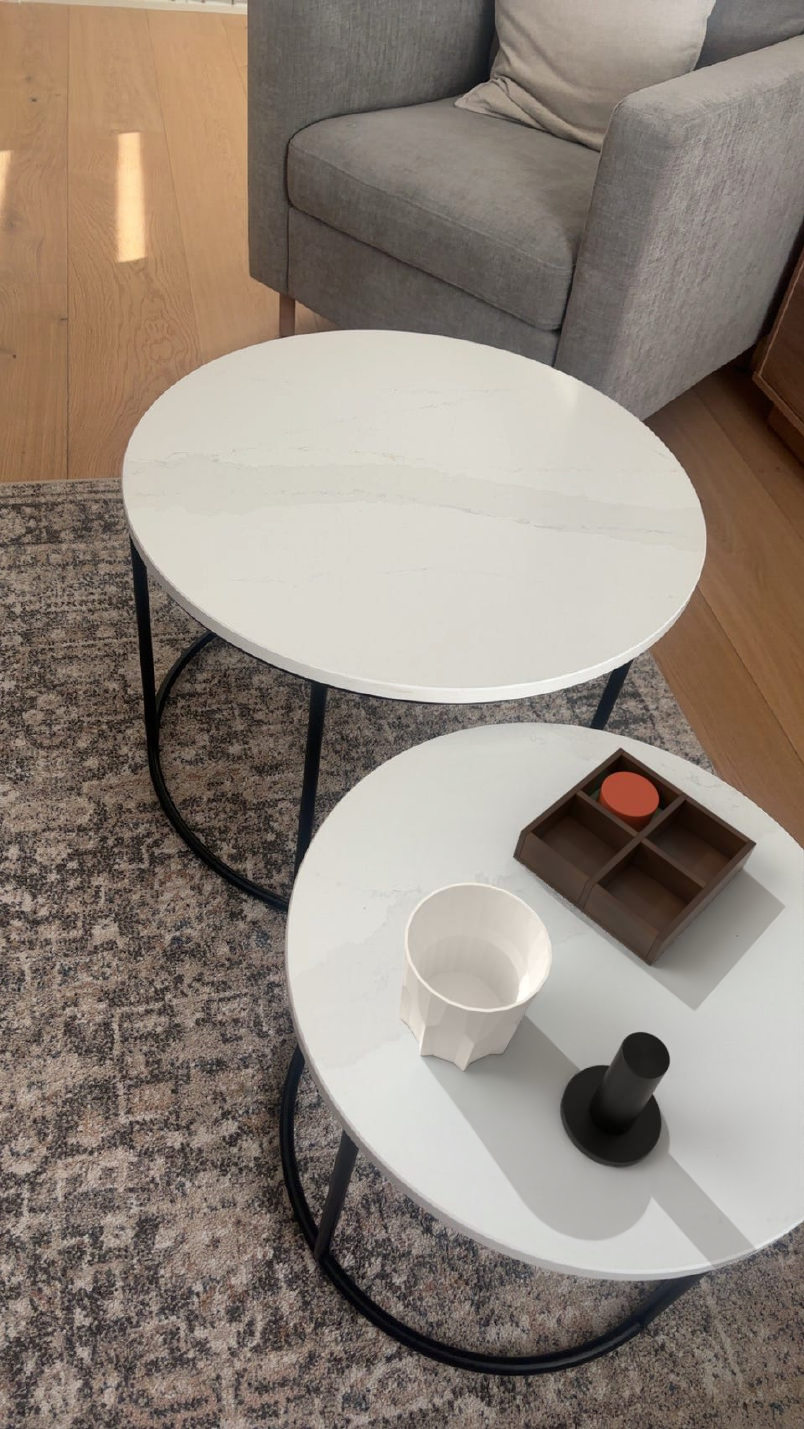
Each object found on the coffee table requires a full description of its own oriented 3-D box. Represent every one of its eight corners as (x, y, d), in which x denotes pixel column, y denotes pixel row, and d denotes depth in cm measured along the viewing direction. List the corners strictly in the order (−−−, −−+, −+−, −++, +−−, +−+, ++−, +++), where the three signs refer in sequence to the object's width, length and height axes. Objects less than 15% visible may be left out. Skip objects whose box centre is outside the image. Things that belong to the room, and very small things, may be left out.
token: (659, 831, 94) (667, 813, 93) (605, 836, 93) (612, 818, 91) (640, 786, 98) (647, 769, 96) (587, 791, 97) (594, 773, 95)
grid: (743, 868, 93) (757, 843, 91) (650, 966, 85) (663, 942, 83) (610, 772, 99) (620, 746, 97) (512, 856, 91) (520, 830, 89)
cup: (548, 1049, 80) (579, 978, 72) (428, 1102, 76) (448, 1034, 69) (481, 940, 85) (504, 865, 78) (366, 984, 82) (379, 910, 74)
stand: (673, 1158, 75) (716, 1098, 68) (577, 1174, 73) (612, 1114, 67) (638, 1063, 80) (676, 998, 73) (548, 1076, 78) (577, 1011, 71)
